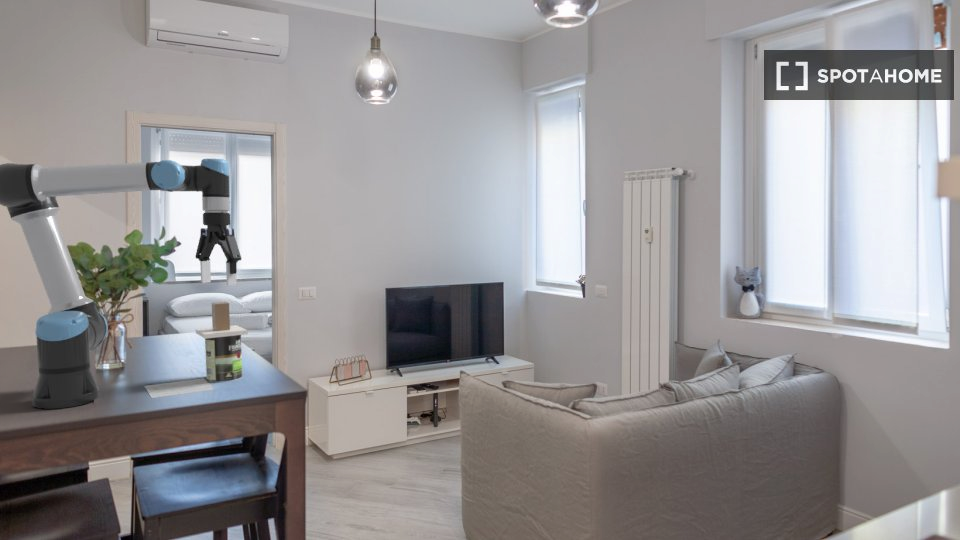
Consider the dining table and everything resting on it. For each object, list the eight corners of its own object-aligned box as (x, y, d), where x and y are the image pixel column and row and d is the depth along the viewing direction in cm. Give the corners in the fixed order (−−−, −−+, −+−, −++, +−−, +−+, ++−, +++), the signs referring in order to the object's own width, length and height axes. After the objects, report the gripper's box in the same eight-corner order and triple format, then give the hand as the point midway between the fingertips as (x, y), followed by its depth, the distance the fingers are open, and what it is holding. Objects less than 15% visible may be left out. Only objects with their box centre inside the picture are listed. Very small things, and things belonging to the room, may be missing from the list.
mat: (151, 400, 177) (151, 398, 177) (144, 388, 190) (144, 385, 190) (215, 391, 185) (214, 389, 185) (203, 380, 199) (203, 378, 199)
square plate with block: (204, 338, 190) (203, 306, 189) (195, 333, 200) (194, 302, 199) (247, 334, 197) (246, 303, 196) (236, 329, 206) (235, 299, 206)
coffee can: (249, 376, 203) (247, 331, 202) (230, 384, 193) (228, 336, 192) (219, 375, 205) (217, 330, 204) (198, 383, 195) (196, 336, 194)
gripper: (252, 211, 191) (254, 285, 192) (205, 212, 206) (207, 280, 207) (229, 211, 185) (231, 287, 186) (181, 212, 200) (184, 282, 201)
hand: (218, 283), depth 197 cm, fingers open, 13 cm apart
